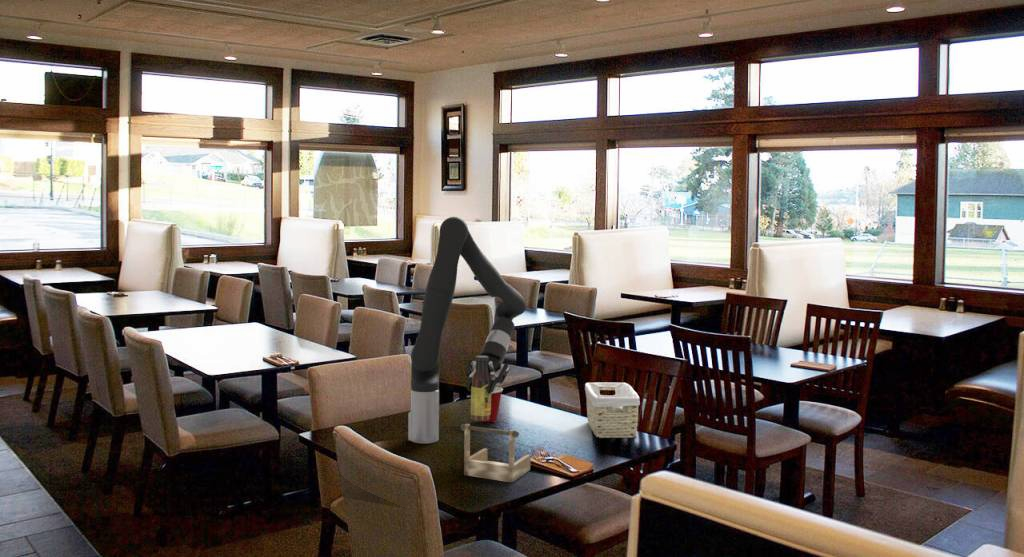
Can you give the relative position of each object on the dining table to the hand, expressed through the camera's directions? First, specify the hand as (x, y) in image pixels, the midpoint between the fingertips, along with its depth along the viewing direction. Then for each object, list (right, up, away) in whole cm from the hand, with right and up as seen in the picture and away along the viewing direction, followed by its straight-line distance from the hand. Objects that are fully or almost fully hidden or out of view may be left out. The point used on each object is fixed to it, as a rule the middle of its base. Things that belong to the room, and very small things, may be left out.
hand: (478, 390), depth 268 cm
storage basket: (+45, -19, +38) cm, 62 cm away
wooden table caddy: (+6, -23, -11) cm, 26 cm away
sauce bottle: (0, -9, +2) cm, 10 cm away
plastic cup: (+1, -17, +48) cm, 51 cm away
